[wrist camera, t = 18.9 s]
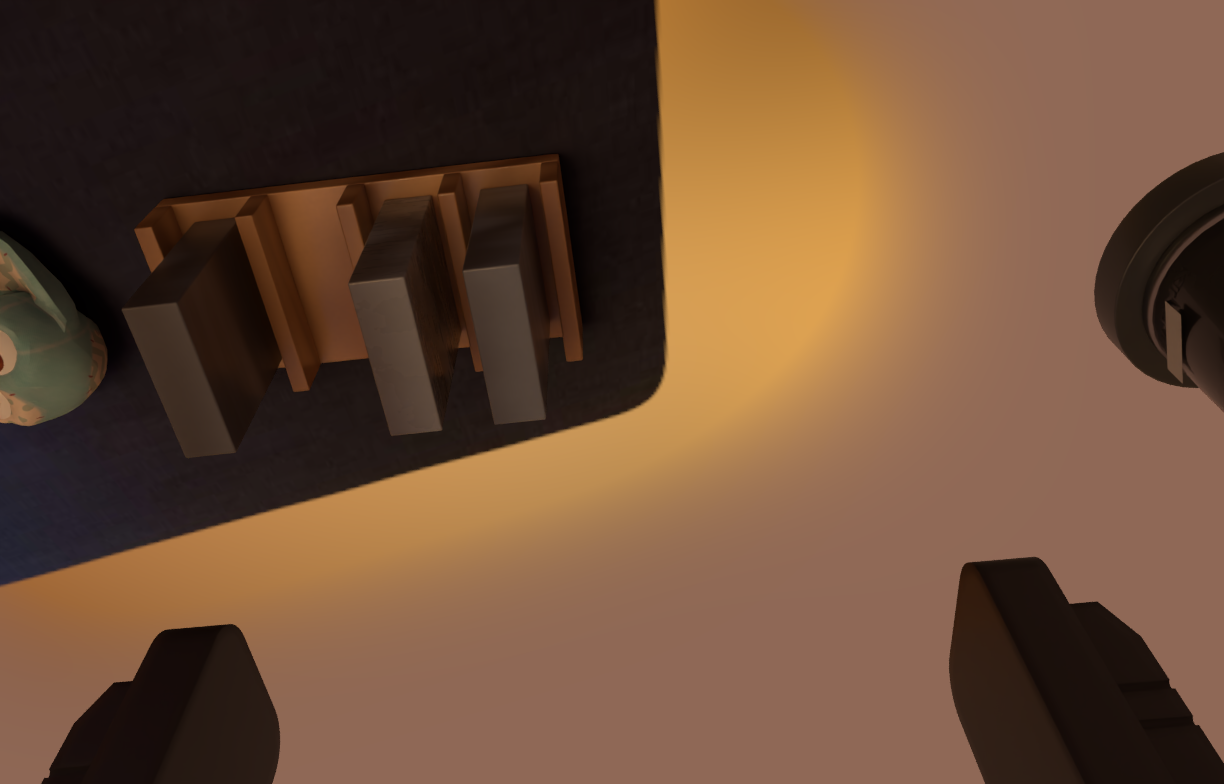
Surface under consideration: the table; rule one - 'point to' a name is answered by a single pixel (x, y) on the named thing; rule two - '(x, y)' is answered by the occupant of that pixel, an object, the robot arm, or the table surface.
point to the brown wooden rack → (358, 293)
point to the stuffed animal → (42, 342)
